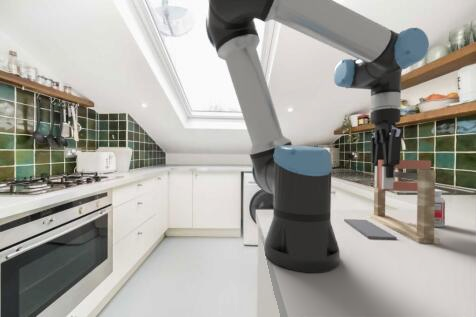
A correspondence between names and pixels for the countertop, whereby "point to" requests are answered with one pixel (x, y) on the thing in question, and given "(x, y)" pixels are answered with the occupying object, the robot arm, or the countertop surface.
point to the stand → (424, 208)
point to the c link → (403, 165)
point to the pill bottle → (439, 209)
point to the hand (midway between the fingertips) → (383, 187)
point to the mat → (369, 229)
